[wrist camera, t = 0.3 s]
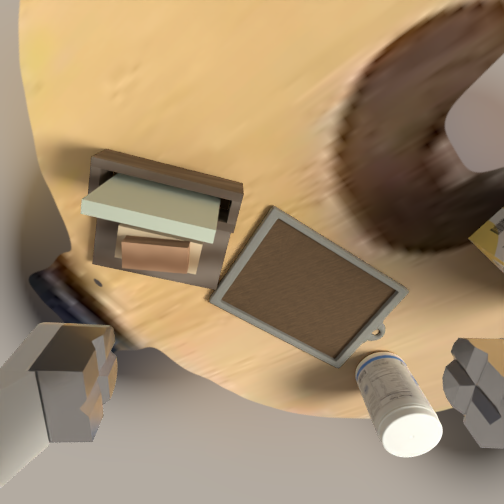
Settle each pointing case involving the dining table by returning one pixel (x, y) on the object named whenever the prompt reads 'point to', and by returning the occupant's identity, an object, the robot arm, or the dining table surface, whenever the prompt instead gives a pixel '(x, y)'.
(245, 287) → the grey brown flat frame
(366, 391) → the supplement tub
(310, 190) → the dining table surface
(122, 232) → the offcut lower
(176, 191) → the grey-green rectangular panel
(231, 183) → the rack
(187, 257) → the offcut upper
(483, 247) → the yellow product box
